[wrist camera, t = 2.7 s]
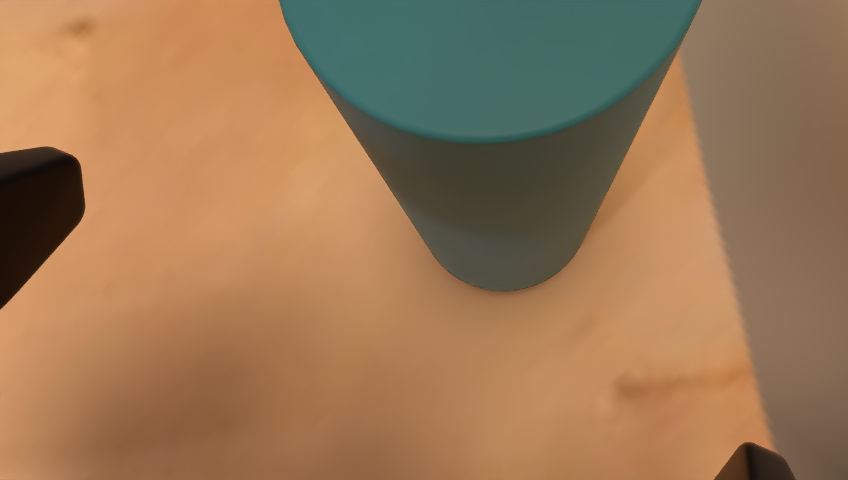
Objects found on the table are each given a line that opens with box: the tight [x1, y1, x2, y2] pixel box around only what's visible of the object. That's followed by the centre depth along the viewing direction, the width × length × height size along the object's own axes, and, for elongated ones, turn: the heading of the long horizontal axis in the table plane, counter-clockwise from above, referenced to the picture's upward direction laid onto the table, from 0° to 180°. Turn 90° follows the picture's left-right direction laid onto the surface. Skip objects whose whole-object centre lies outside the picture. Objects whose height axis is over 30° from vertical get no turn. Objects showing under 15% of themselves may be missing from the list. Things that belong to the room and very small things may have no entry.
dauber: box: [279, 0, 702, 291], centre depth 14 cm, size 4×4×13 cm
